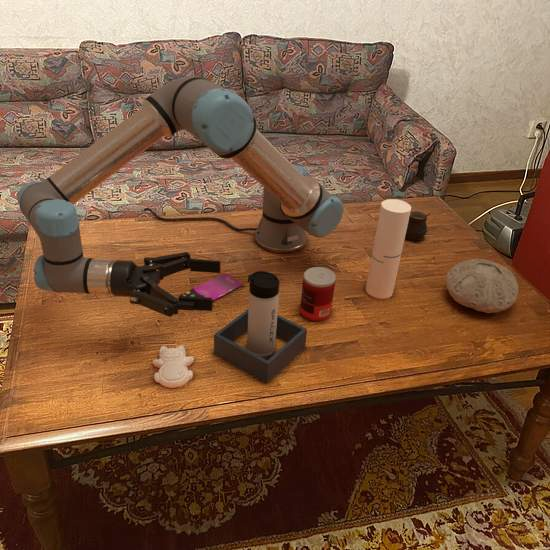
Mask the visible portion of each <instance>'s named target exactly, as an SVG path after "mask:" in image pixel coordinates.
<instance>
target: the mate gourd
mask: <svg viewBox="0 0 550 550" xmlns="http://www.w3.org/2000/svg"><path fill="white" fill-rule="evenodd" d="M431 213H432V212H430V213H428V214H426V213H425V212H423V211H421V210H411V212H410V216H409V221H408V226H407V230H406V235H405V239H407V240H409V241H413V242H418V241H421V240H422V239H423V238H425V236H426V234H427V232H428V231H427V230H428V226H427V219H428V216H429V215H431Z"/></svg>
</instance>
